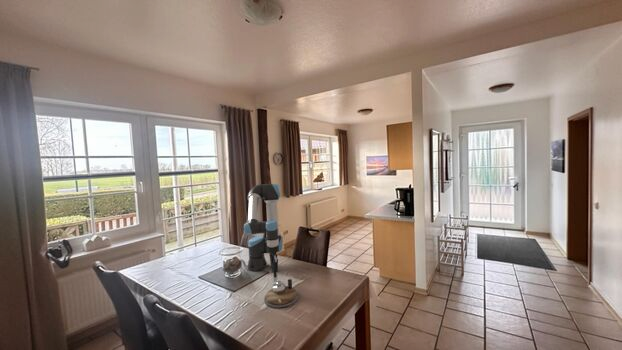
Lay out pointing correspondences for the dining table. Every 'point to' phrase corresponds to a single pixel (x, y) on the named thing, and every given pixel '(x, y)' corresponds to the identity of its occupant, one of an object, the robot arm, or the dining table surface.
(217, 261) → the dining table surface
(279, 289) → the cover
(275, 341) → the dining table surface
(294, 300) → the turntable base
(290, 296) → the platter
